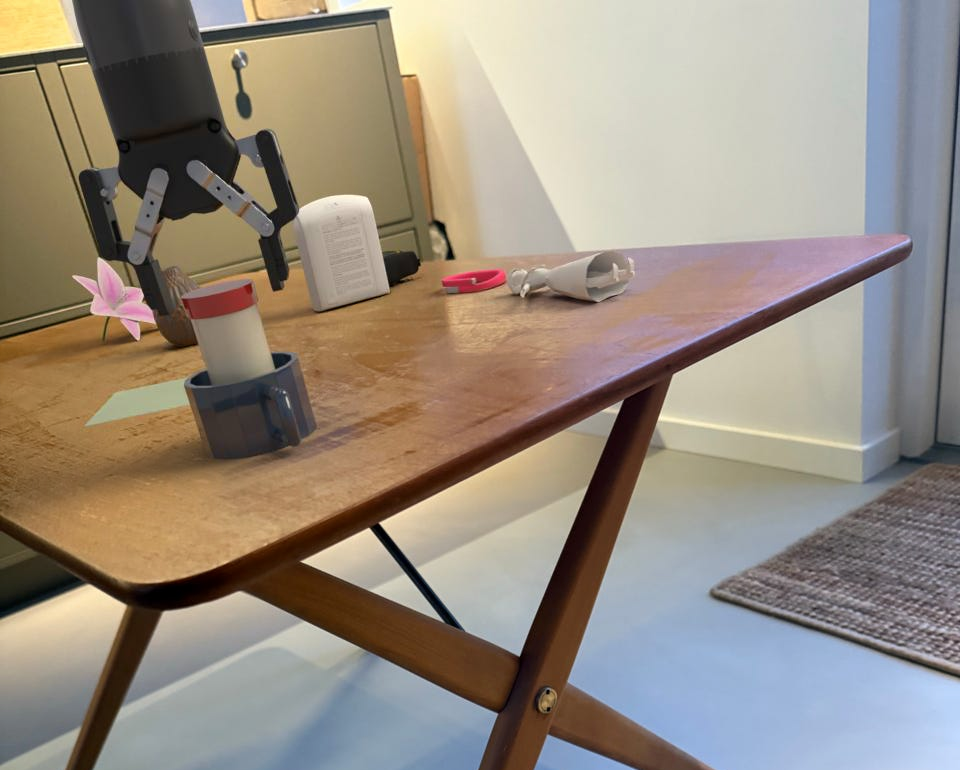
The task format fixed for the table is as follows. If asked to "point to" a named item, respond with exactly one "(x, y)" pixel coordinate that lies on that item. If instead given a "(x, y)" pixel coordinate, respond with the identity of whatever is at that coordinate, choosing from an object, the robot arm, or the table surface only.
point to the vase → (177, 309)
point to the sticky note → (142, 401)
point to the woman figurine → (578, 277)
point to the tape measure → (400, 265)
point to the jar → (229, 330)
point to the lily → (116, 299)
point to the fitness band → (473, 280)
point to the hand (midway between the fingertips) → (222, 301)
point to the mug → (252, 410)
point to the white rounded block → (340, 251)
